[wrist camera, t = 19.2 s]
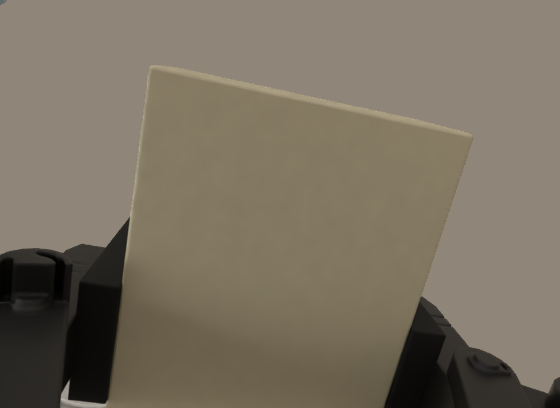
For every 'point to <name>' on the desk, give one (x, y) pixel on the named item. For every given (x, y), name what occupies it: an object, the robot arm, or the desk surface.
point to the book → (274, 246)
